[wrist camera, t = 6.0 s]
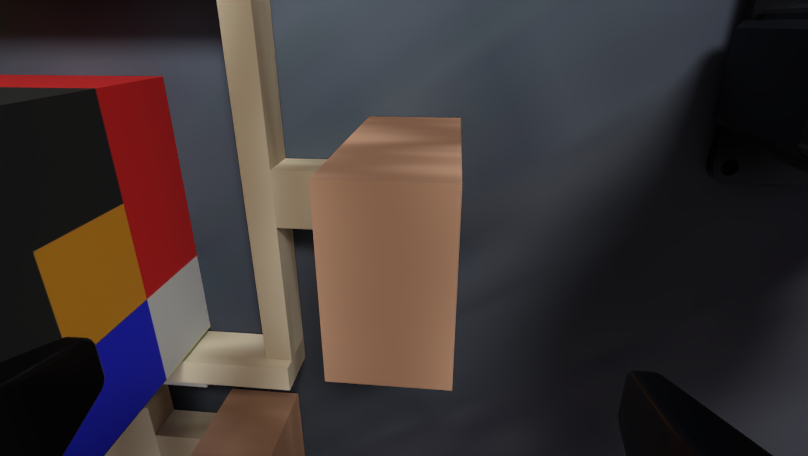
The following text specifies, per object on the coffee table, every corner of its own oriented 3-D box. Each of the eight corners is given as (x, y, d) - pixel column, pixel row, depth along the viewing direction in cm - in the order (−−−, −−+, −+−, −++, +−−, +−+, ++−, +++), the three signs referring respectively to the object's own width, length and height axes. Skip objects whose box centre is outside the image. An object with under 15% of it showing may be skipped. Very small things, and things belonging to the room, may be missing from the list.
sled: (468, -61, 14) (477, -136, 7) (449, 366, 19) (445, 535, 13) (-182, -49, 16) (-629, -100, 9) (-21, 334, 21) (-225, 467, 15)
